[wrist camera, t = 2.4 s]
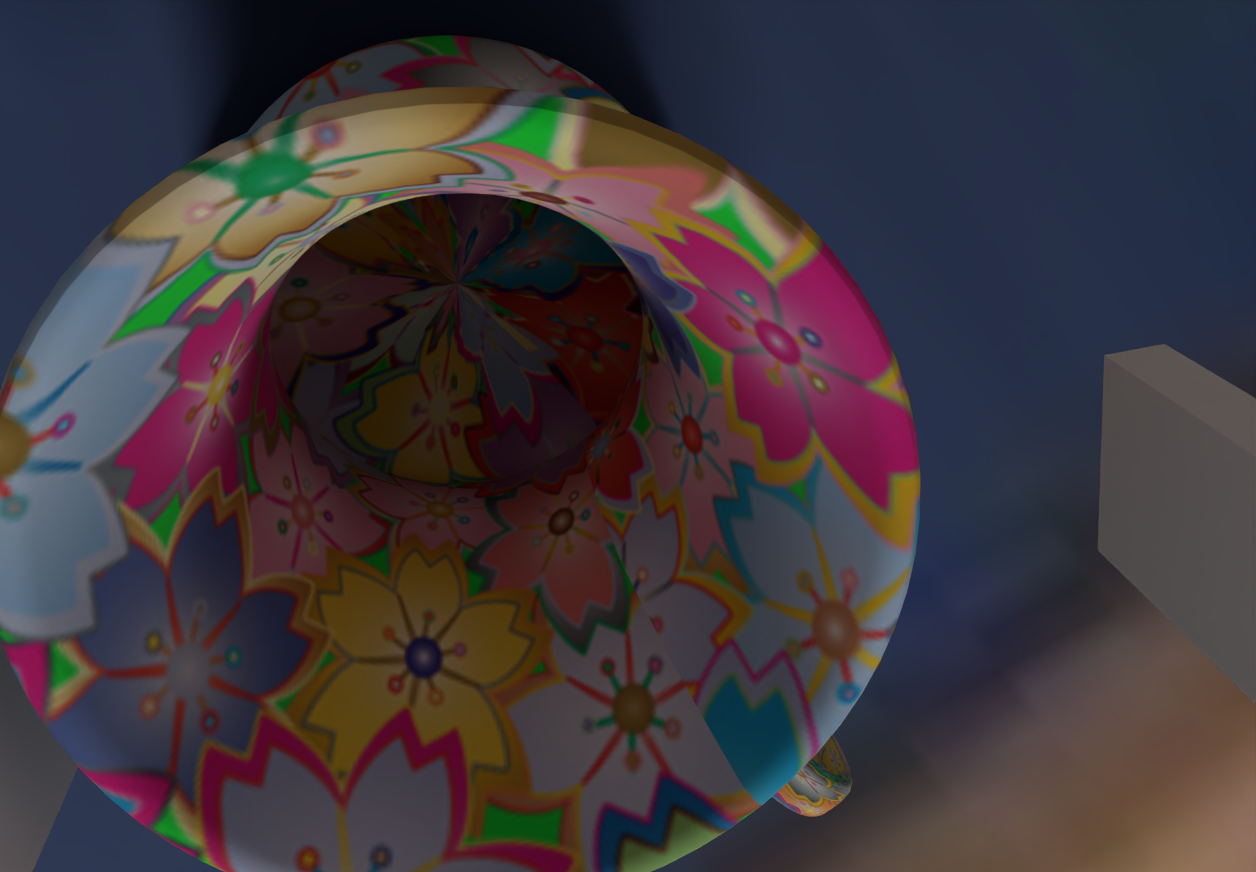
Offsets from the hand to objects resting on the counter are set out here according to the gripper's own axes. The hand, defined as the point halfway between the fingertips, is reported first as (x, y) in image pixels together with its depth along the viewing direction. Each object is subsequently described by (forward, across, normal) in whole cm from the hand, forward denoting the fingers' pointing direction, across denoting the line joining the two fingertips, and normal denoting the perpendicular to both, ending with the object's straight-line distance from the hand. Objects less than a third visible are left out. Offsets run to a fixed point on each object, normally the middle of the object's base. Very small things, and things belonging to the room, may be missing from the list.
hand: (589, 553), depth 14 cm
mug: (+9, -1, 0) cm, 9 cm away
